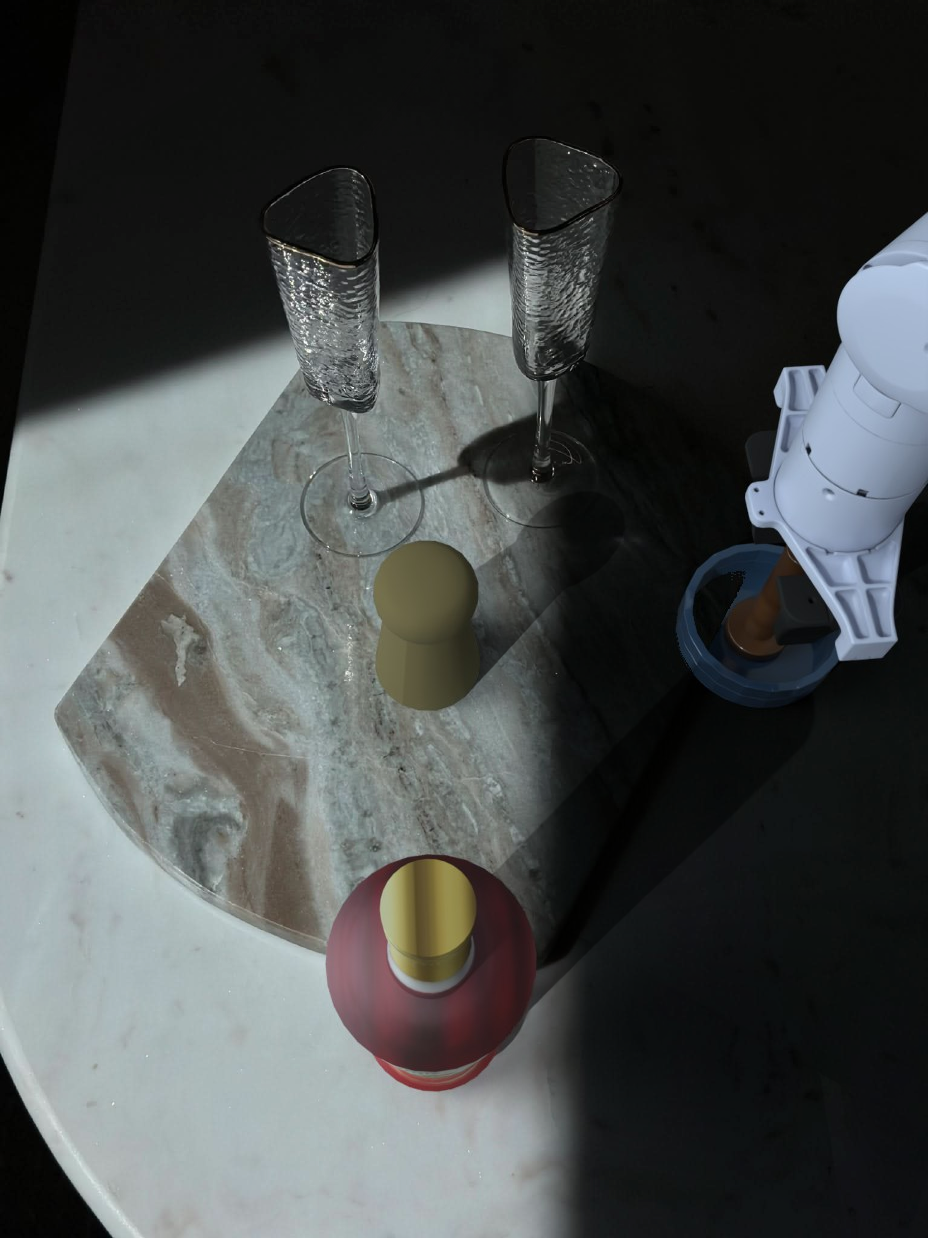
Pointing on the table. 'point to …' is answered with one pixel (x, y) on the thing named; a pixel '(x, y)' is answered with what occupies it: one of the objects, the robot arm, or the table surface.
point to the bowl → (730, 672)
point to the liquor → (431, 968)
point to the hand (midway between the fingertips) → (782, 587)
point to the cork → (426, 625)
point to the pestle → (760, 616)
